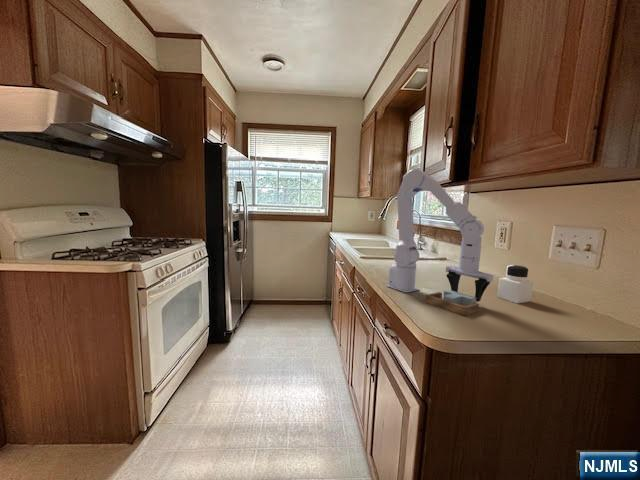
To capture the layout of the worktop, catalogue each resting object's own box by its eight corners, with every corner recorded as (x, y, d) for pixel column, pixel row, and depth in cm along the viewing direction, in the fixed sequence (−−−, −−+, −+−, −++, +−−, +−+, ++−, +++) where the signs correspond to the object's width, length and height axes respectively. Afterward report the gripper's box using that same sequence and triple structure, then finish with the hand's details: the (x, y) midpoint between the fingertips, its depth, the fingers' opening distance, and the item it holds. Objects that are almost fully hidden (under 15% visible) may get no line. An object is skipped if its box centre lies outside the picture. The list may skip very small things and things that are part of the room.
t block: (434, 303, 88) (435, 292, 88) (448, 299, 93) (449, 289, 92) (461, 312, 81) (462, 301, 81) (475, 308, 85) (476, 297, 85)
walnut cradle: (425, 302, 89) (426, 295, 89) (438, 298, 93) (438, 292, 93) (465, 316, 78) (466, 308, 78) (478, 311, 82) (479, 304, 82)
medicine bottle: (530, 301, 94) (535, 267, 92) (517, 303, 91) (521, 268, 90) (510, 295, 100) (513, 263, 99) (496, 297, 98) (500, 264, 96)
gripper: (499, 260, 85) (495, 302, 87) (455, 253, 97) (451, 290, 99) (488, 262, 81) (484, 306, 83) (443, 254, 93) (440, 292, 95)
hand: (465, 297), depth 90 cm, fingers open, 7 cm apart
